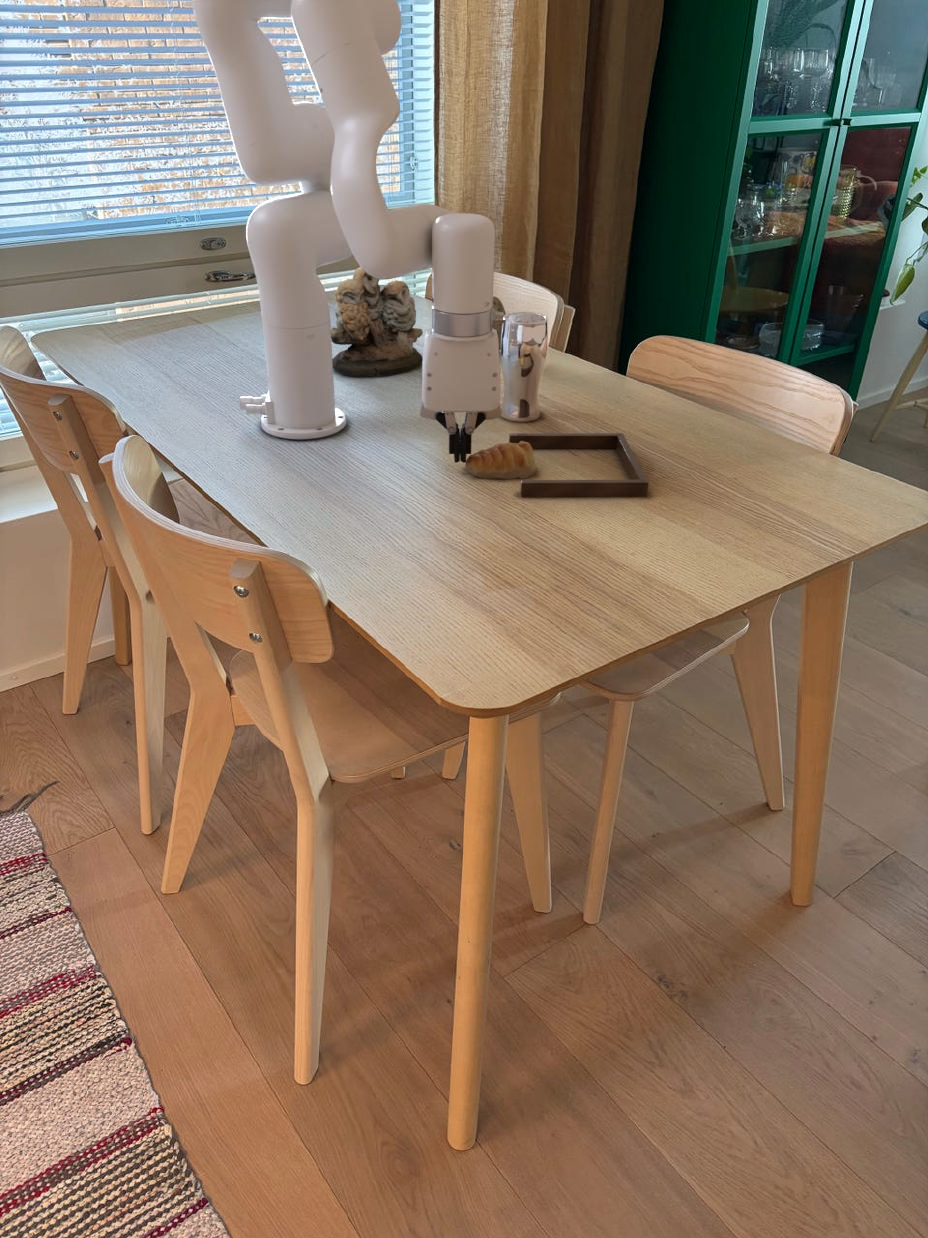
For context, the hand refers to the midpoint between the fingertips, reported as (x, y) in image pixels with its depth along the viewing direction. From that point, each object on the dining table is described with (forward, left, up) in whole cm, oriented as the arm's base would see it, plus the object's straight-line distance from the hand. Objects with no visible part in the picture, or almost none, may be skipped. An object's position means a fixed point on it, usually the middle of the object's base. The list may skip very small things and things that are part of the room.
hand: (459, 458), depth 129 cm
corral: (+15, 0, -2) cm, 16 cm away
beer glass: (+10, +21, -2) cm, 24 cm away
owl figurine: (-13, +45, -2) cm, 47 cm away
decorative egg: (+8, +53, -2) cm, 54 cm away
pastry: (+6, 0, -2) cm, 6 cm away
